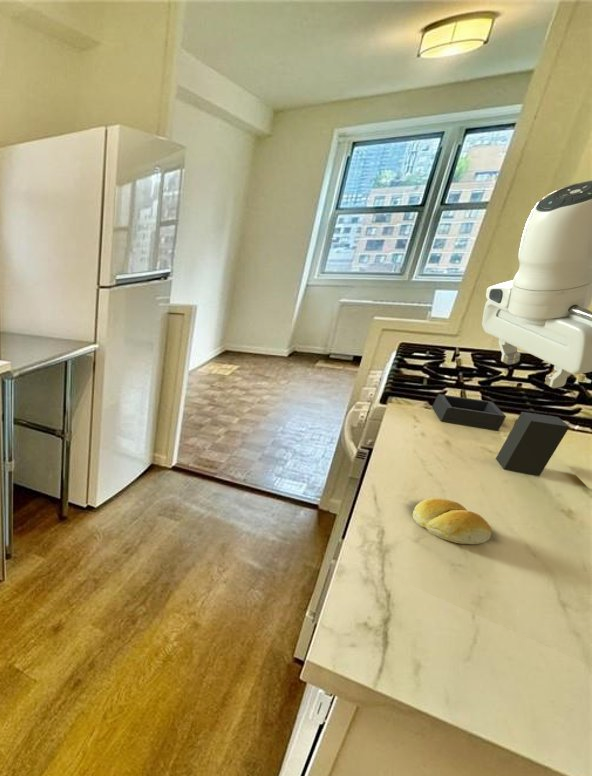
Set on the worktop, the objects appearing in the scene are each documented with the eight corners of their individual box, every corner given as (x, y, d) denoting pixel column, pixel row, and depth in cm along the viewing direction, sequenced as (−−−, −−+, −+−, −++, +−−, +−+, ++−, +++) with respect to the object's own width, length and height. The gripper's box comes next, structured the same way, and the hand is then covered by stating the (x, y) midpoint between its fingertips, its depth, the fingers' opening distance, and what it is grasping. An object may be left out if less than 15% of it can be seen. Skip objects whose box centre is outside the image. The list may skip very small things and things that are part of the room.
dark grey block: (530, 464, 93) (558, 416, 88) (539, 476, 89) (570, 426, 84) (495, 458, 95) (521, 411, 90) (503, 469, 91) (531, 420, 86)
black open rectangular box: (485, 415, 114) (492, 401, 112) (498, 430, 106) (506, 416, 105) (431, 407, 118) (438, 393, 117) (440, 421, 111) (447, 407, 109)
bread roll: (444, 510, 79) (456, 490, 77) (497, 545, 71) (511, 523, 69) (395, 511, 78) (405, 490, 76) (443, 546, 70) (455, 524, 69)
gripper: (641, 311, 67) (611, 396, 74) (523, 274, 84) (507, 346, 91) (583, 325, 69) (560, 406, 76) (479, 286, 86) (467, 355, 93)
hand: (530, 373), depth 83 cm, fingers open, 8 cm apart
